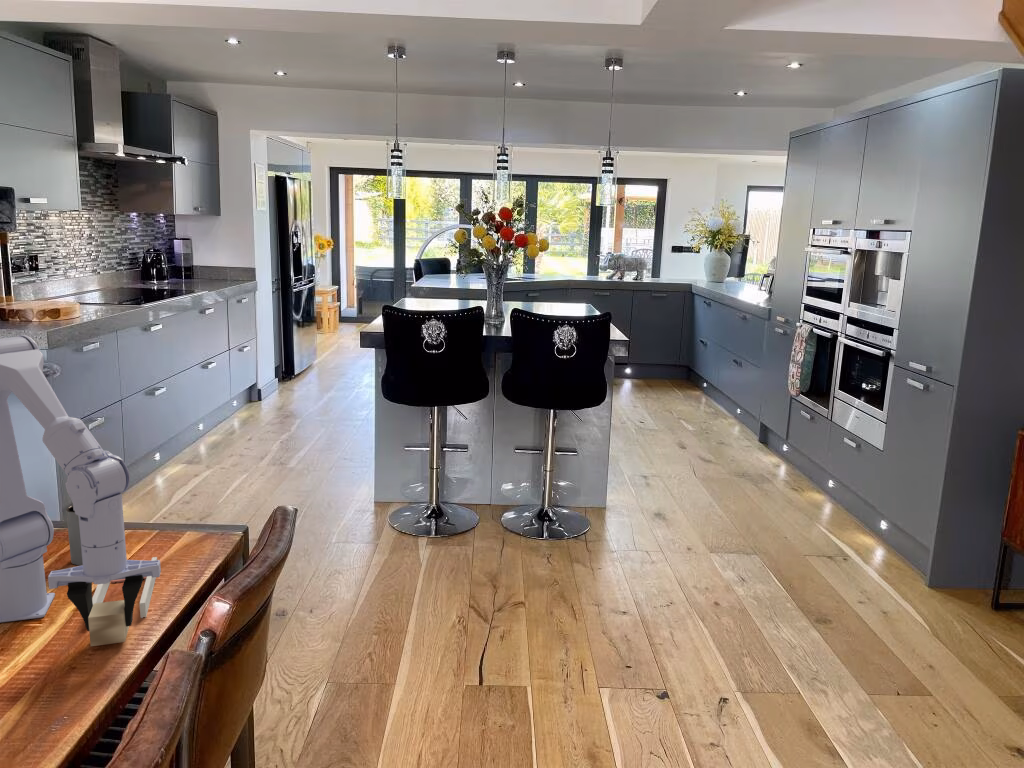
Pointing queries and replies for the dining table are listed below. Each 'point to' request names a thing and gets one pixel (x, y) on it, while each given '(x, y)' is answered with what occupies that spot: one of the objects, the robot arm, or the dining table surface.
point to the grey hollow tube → (74, 536)
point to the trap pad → (121, 580)
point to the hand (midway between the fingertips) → (110, 625)
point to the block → (107, 623)
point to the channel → (145, 597)
